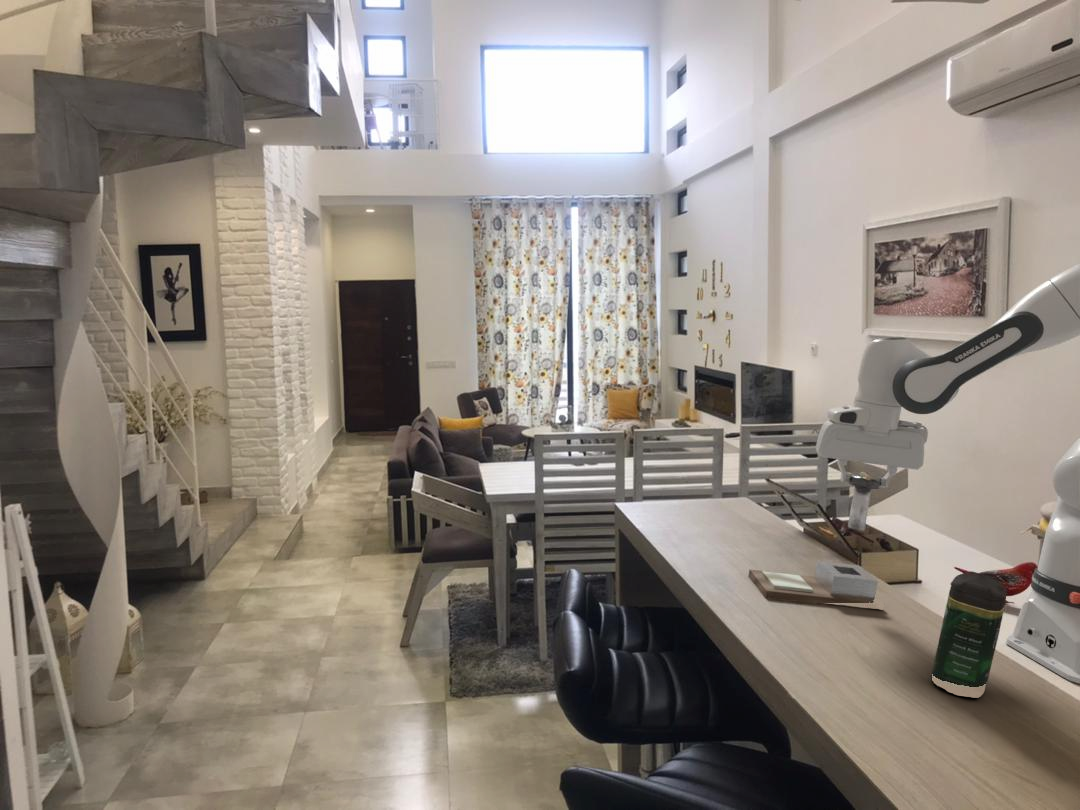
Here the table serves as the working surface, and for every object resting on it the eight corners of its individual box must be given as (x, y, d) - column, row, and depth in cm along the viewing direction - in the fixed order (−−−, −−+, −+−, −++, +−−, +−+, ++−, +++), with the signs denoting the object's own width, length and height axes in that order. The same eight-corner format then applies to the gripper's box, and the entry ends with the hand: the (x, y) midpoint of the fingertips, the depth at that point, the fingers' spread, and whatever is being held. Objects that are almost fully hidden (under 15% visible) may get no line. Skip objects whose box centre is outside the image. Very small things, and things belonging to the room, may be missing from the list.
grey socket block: (874, 599, 161) (877, 580, 161) (830, 595, 161) (834, 576, 160) (855, 583, 170) (859, 565, 170) (814, 578, 170) (817, 560, 169)
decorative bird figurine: (1037, 611, 172) (1047, 566, 170) (950, 596, 174) (959, 552, 173) (1031, 606, 175) (1041, 562, 173) (946, 591, 177) (955, 548, 176)
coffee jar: (981, 707, 123) (1006, 592, 121) (926, 687, 128) (948, 576, 125) (988, 686, 131) (1012, 577, 129) (936, 668, 136) (957, 563, 133)
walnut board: (883, 610, 160) (885, 600, 160) (765, 598, 159) (767, 587, 159) (858, 588, 172) (860, 578, 172) (748, 576, 171) (749, 566, 171)
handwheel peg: (867, 526, 166) (876, 473, 165) (875, 534, 160) (884, 479, 159) (837, 521, 167) (846, 469, 165) (844, 529, 161) (853, 475, 160)
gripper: (924, 421, 162) (912, 488, 164) (820, 408, 165) (809, 474, 167) (935, 426, 156) (922, 495, 158) (826, 412, 159) (815, 480, 161)
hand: (863, 484), depth 162 cm, fingers closed on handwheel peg, 6 cm apart
